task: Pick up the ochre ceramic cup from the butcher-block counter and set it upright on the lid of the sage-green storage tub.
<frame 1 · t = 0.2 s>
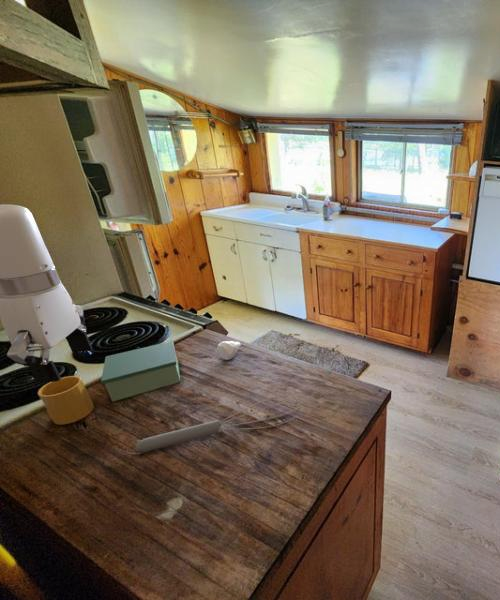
hand: (67, 364, 62), 18 cm above the counter, tool pointing down, fingers open, 9 cm apart
kitchen whisk: (223, 435, 71), on the counter
garlic bulb: (232, 355, 97), on the counter
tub: (147, 379, 86), on the counter
cup: (74, 413, 74), on the counter
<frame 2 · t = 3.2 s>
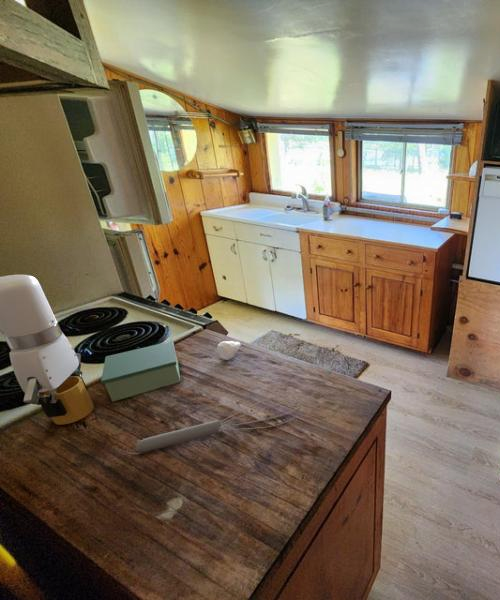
hand: (68, 402, 73), 3 cm above the counter, tool pointing down, fingers closed on cup, 6 cm apart
cup: (74, 413, 74), on the counter, touching gripper
everything else where it was.
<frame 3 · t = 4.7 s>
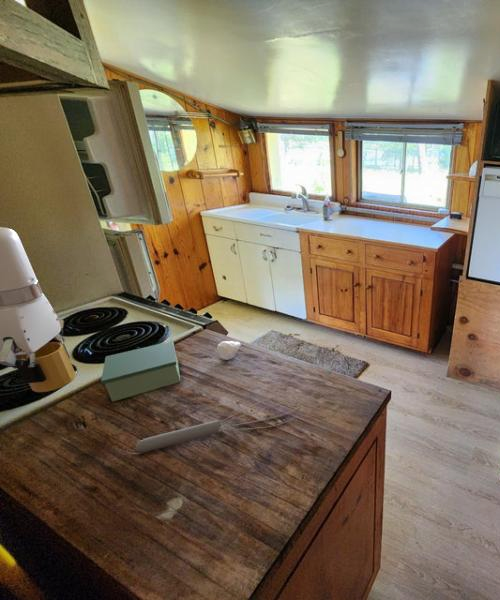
hand: (48, 369, 69), 12 cm above the counter, tool pointing down, fingers closed on cup, 6 cm apart
cup: (54, 381, 70), point 9 cm above the counter, touching gripper
everything else where it was.
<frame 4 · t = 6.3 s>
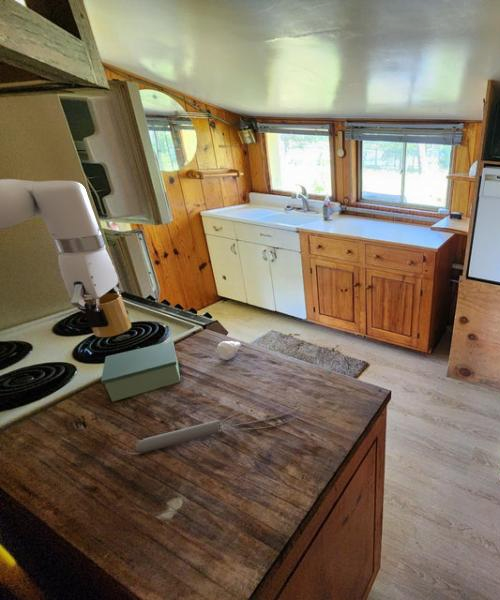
hand: (108, 317, 75), 20 cm above the counter, tool pointing down, fingers closed on cup, 6 cm apart
cup: (113, 329, 77), point 17 cm above the counter, touching gripper
everything else where it was.
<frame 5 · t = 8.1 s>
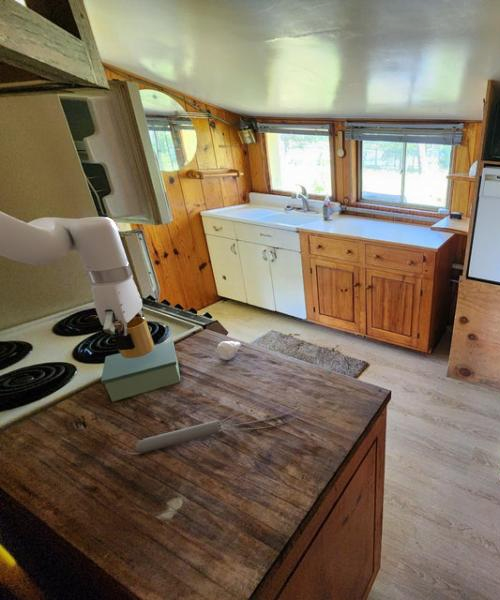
hand: (134, 340, 81), 12 cm above the counter, tool pointing down, fingers closed on cup, 6 cm apart
cup: (138, 350, 82), point 9 cm above the counter, touching gripper
everything else where it was.
when the fingers open (10 cm above the counter, at t = 9.4 s): cup stays where it is, resting on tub.
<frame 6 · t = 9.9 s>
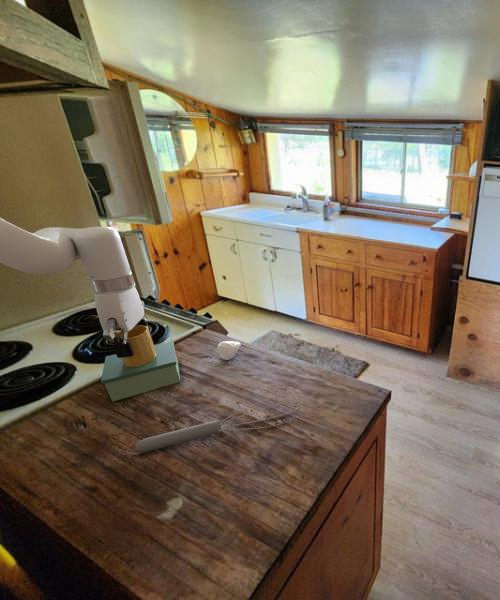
hand: (135, 345, 81), 11 cm above the counter, tool pointing down, fingers open, 9 cm apart
cup: (140, 358, 83), point 7 cm above the counter, touching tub
everything else where it was.
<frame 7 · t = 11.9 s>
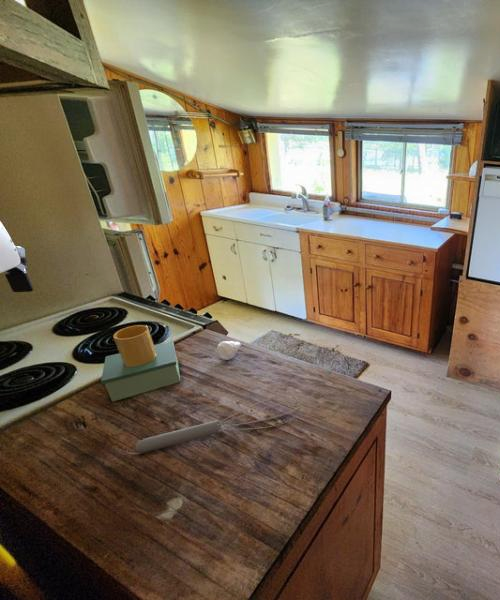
hand: (5, 301, 64), 28 cm above the counter, tool pointing down, fingers open, 9 cm apart
nothing on the counter moved.
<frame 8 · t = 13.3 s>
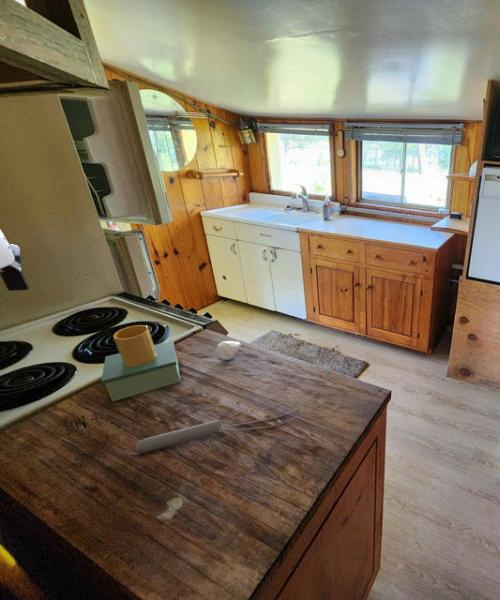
hand: (0, 299, 63), 28 cm above the counter, tool pointing down, fingers open, 9 cm apart
nothing on the counter moved.
at the end: cup inside the target area on the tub (0.1 cm from its centre), point 6.6 cm above the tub's base; cup tilted 0°; the gripper is holding nothing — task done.
